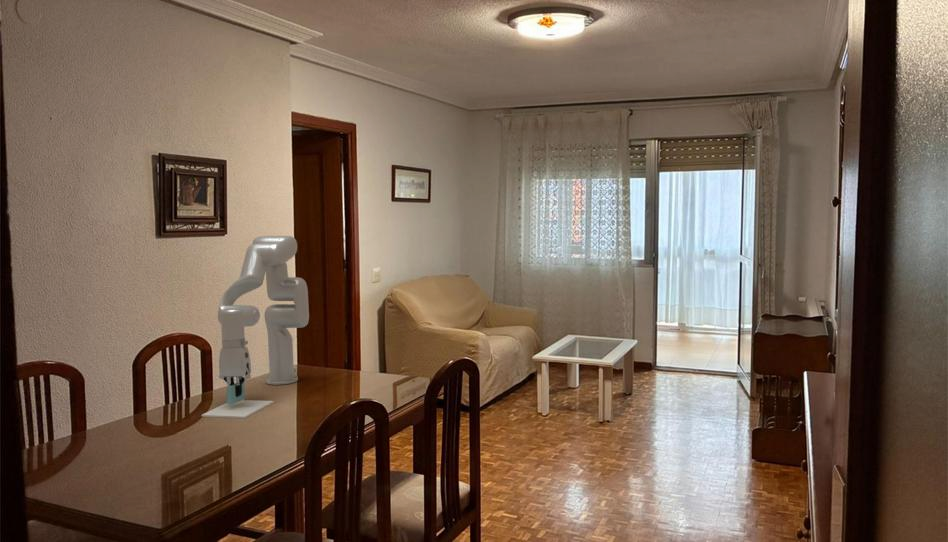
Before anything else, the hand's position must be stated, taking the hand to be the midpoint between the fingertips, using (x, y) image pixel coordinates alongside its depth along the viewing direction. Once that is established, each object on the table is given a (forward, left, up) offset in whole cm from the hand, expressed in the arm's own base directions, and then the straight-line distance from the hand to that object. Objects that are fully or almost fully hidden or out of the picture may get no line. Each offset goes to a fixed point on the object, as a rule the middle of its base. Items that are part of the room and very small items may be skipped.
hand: (235, 395), depth 247 cm
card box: (0, 0, -2) cm, 2 cm away
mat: (+2, +2, -4) cm, 5 cm away
